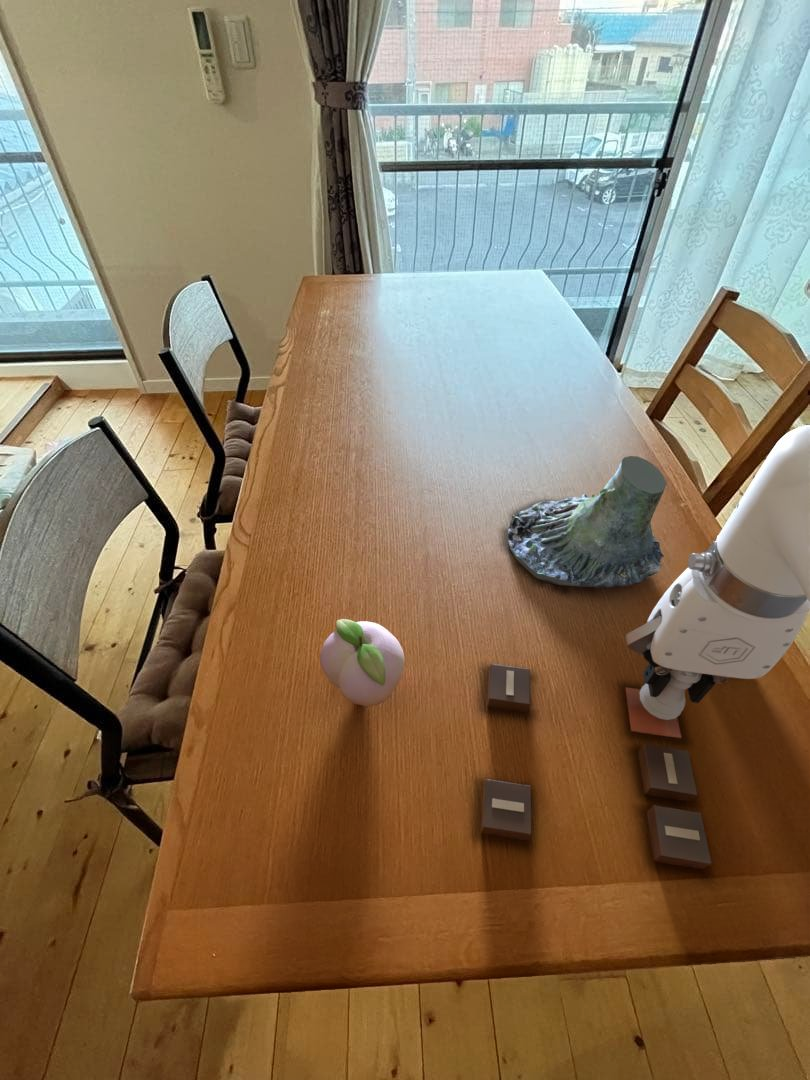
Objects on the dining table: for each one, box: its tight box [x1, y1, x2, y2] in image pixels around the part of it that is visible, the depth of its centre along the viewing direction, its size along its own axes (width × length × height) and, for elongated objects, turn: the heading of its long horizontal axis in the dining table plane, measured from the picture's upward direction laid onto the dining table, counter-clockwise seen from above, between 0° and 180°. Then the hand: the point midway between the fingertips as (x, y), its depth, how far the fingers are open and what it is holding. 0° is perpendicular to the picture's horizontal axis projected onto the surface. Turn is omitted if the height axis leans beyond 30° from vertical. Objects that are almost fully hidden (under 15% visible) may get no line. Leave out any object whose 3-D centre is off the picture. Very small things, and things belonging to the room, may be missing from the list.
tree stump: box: [507, 455, 667, 589], centre depth 74 cm, size 18×20×18 cm
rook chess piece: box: [640, 669, 702, 720], centre depth 57 cm, size 4×4×8 cm
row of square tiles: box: [624, 687, 712, 870], centre depth 56 cm, size 18×5×2 cm, turn 172°
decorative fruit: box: [319, 618, 405, 707], centre depth 60 cm, size 9×8×10 cm
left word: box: [480, 663, 532, 841], centre depth 58 cm, size 17×4×2 cm, turn 172°
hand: (671, 686), depth 57 cm, fingers closed on rook chess piece, 3 cm apart
